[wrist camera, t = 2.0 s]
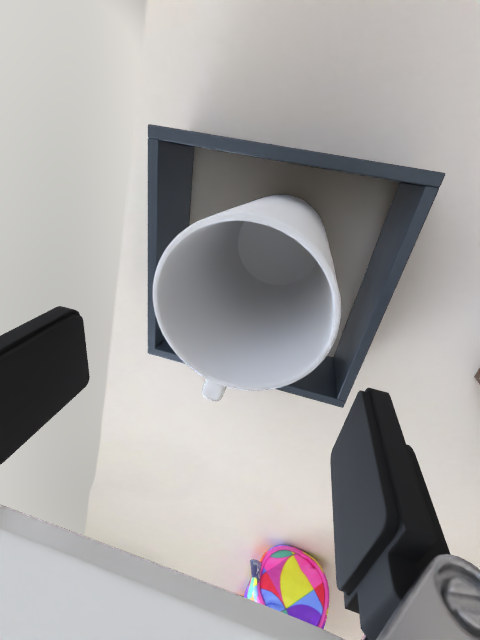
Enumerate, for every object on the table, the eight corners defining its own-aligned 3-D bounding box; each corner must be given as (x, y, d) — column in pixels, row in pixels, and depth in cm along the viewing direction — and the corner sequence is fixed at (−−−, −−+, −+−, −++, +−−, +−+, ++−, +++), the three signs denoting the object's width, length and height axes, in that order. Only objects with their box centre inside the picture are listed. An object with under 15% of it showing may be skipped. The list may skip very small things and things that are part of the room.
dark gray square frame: (186, 134, 19) (147, 124, 15) (414, 172, 17) (446, 173, 13) (176, 322, 26) (147, 353, 22) (338, 365, 24) (343, 408, 20)
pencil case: (257, 525, 37) (240, 622, 29) (332, 553, 36) (336, 661, 28) (230, 597, 47) (212, 682, 39) (287, 619, 46) (281, 712, 38)
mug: (252, 173, 19) (173, 177, 9) (348, 212, 19) (385, 263, 8) (210, 302, 24) (128, 402, 14) (286, 335, 24) (261, 462, 13)
